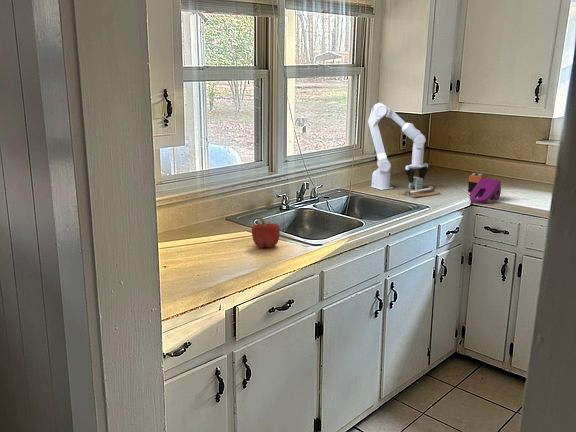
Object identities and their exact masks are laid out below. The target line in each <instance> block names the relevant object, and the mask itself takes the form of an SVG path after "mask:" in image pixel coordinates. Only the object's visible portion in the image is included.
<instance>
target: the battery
mask: <svg viewBox="0 0 576 432" xmlns="http://www.w3.org/2000/svg"><path fill="white" fill-rule="evenodd" d="M481 178H486V176H485V175H484V174H483V173H478V174H477V173H476V172H475V173H474V172H473V173H472V174H469V177H468V187H467V192H468V193H469V194H470V193H471V191H472V190H473V189H474V187H475V186H476V185H477V183H478V182H479V181H480V180H481Z"/></svg>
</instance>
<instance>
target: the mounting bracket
mask: <svg viewBox="0 0 576 432" xmlns="http://www.w3.org/2000/svg"><path fill="white" fill-rule="evenodd" d="M501 194H502V185H501V180H499V179H492V178H487V177H485V178H481V180H480V181H479V182H478V183H477V185H476V186H475V187H474V189H473V190H472V191H471V193H470V192H469V195H468V196H469V201H470V202H471V203H472V204H479V205H481V204H485V203H488V202H489V200H492V201H498V200H499V199H500V196H501Z"/></svg>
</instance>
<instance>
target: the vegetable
mask: <svg viewBox="0 0 576 432" xmlns="http://www.w3.org/2000/svg"><path fill="white" fill-rule="evenodd" d="M256 220H259V221H261V223H258V224H256V225H254V226H252V228H251V236H252V240H253V243H254V245H256V246H257V247H259V248H260V249H264V248H271V247H275V246H276V245H277V244H278V242H279V240H280V226H279V224H278V223H271V222H267V223H266V221H265V220H264V218H262V217H261V216H259V217H256Z"/></svg>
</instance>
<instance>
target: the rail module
mask: <svg viewBox="0 0 576 432" xmlns="http://www.w3.org/2000/svg"><path fill="white" fill-rule="evenodd" d="M423 184H424V180H423V178H420V177H419V176H416V175H414V177H413V183H409V182H408V189H414V190H420V189H423Z"/></svg>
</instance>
